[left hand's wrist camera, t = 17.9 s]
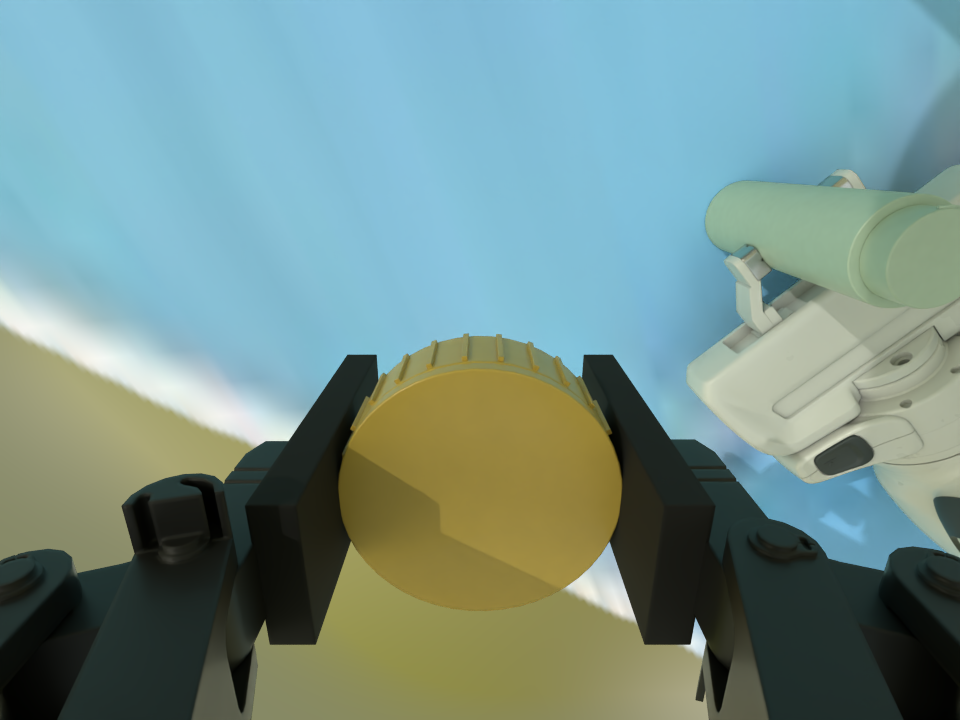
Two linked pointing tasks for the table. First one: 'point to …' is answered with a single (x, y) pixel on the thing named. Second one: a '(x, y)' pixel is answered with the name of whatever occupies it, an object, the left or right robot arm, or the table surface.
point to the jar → (846, 239)
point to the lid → (480, 475)
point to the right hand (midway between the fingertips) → (783, 217)
